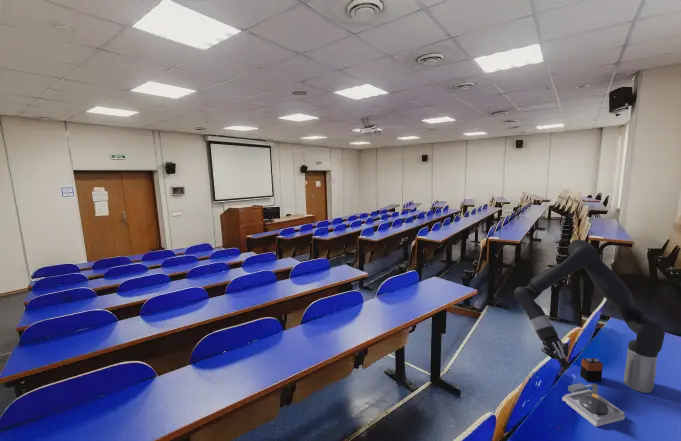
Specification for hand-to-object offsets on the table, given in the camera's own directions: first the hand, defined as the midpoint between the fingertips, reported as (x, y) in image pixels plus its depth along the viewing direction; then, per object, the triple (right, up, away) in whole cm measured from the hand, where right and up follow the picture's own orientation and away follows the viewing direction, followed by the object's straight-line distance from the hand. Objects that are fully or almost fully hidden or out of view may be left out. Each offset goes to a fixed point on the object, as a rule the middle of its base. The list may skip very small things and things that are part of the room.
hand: (566, 368), depth 127 cm
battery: (+21, -12, +13) cm, 28 cm away
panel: (+7, -15, -4) cm, 17 cm away
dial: (+6, -13, -6) cm, 16 cm away
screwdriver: (+12, -13, +7) cm, 19 cm away
